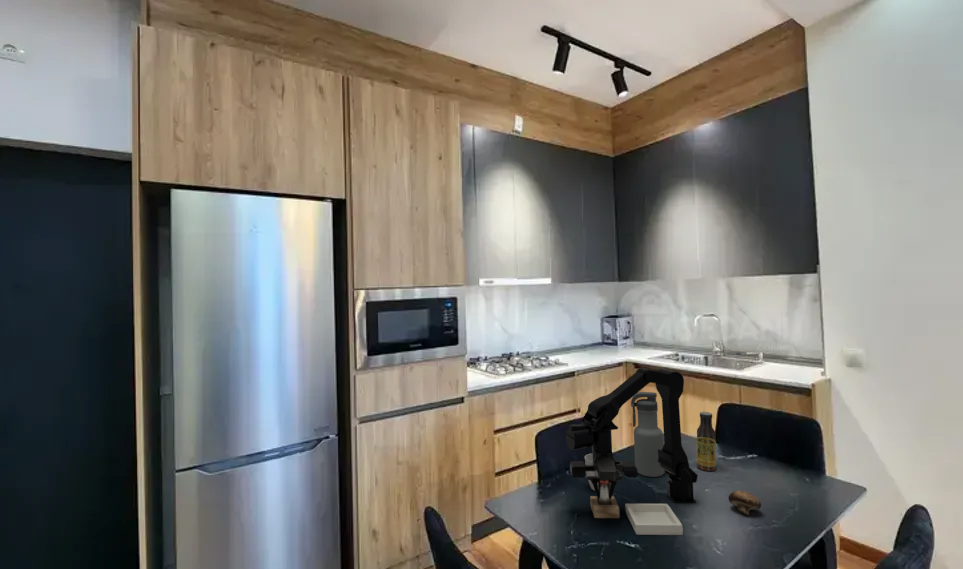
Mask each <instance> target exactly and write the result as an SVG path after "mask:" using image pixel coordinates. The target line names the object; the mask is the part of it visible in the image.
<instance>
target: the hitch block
mask: <svg viewBox="0 0 963 569" xmlns="http://www.w3.org/2000/svg"><path fill="white" fill-rule="evenodd" d="M589 498H590V499H589V500H590V508H591V511H592V513H593V514H592V515H593V517H594V519H620V506H619V504H618V502H617V500H616V498H615V496H614V495H612V497H611V499H610V498H609V500H610V505H599V499H598V498H597V495H595V496H594V495H590V497H589Z"/></svg>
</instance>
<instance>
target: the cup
mask: <svg viewBox="0 0 963 569" xmlns="http://www.w3.org/2000/svg"><path fill="white" fill-rule="evenodd" d="M584 461H585V462H584V465H593V457H592V453H589V454H588V453H587V454H586V455H584ZM595 475H596V477H597V476H598V473H597V472H595ZM587 481H588V483H589V486H590V489H591V490H593V491H595V489H594V486H593V484H592V482H591V480H587ZM597 484H598V482H597ZM598 490H599V488H598Z"/></svg>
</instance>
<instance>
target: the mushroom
mask: <svg viewBox="0 0 963 569" xmlns="http://www.w3.org/2000/svg"><path fill="white" fill-rule="evenodd" d="M728 501H729V504H731V505H733V506H734V507H737V510H738V511H740V512H741V513H743V514H744V515H747V516H749V515H750V511H751V510H754V511H755V510H760V509H761V507H762V503H761V501H760V499H759V498H758V497H757V496H755V495H753V494H752V493H749V492H747V491H744V490H734V491H733V492H731V493H730V494H729V495H728Z"/></svg>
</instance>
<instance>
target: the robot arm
mask: <svg viewBox="0 0 963 569" xmlns="http://www.w3.org/2000/svg"><path fill="white" fill-rule="evenodd" d="M650 383H651V384H655V387H656V388H655V389H656V390H657V392H658V394H659V396H660V398H661V408H662V410H661V411H662V424H663V426H662V427H663V448H662V449H658V462H659V463H660V466H661V467H662V468H663V469H664V471H665V472H664V474H666V475H667V476H668V480H667V481H666V486H667V495H668V497H669V498H670V499H671V501H673V502H674V503H697V502H696V499H695V498H694V483H697V481H698V474H697V473H696V472H695V471H694V470H693V469H692V468H690V463H689V459H688V456H687V453H686V451H685V450H684V448H683V445H682V444H683V443H682V430H681V416H680V415H681V412H680V398H681V396H682V394H684V386H685V378H684V375H682V373H680V372H679V371H675V370H671V369H667V368H660V369H658V370H655V369H650V368H645V367H639V368H638V369H636V371H635V372H634V373H633V374H632V375H630V376H629V377H628V378H627V379H626V380H625V381H623V382H622V383H621V384H620V385H618V386H617V387H616V388H614V389H613V391H611V392H610V393H608V394H606V395H602V396H598V397H597V398H595V399H594V400H592V401H590V403H589V404H588V405H587V410H586V412H585V413H584V415H583V417H582V419H581V420H580V424H579V423H577V424H569V425H568V428H567V430H566V433H565V440H566V444H567V447H568V449H570V450H579V449H581V450H582V449H586V448H591V450H592V453H591V454H592V457H593V465H586V464H585V462H584V460H572V461H570V463H569V470H570V474H571V477H572V478H584V477H585V478H586V480H587V481H588V480H591V482H592V484H593V486H594V489H595V494H596V495H595V496H597V498H598V499H599V490H598V484H597V477H596V475H595V472H597V473H598V478H599V479H600V480H602V481H604V480H610V483H609V498H610V499H611V497H612V496H613V494H614V492H615V488H616V486H617V483H618V482H620V481H622V480H624V479H623V477H624V476H625V477H626V478H632V479H633V478H638V477H639V476H638V474H639V473H638V471H637V468H636V466H635V462H633V461H632V460H615V459H614V457H613V456H614V455H613V439H612V431H613V430H618V429H619V427H618V426H617V425H616V424H615V423H614V422H613V421H614V419H615V418H616V417H617V416H618V415H619V412H620V409H621V408H622V407H623V406H624V405H625V404H626V403H627V402H629V401H630V400H632V397H633V396H634V395H635V394H637V393H639V392H641V391H642V389H644V388H645V387H646V386H648V384H650ZM622 475H624V476H622Z"/></svg>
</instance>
